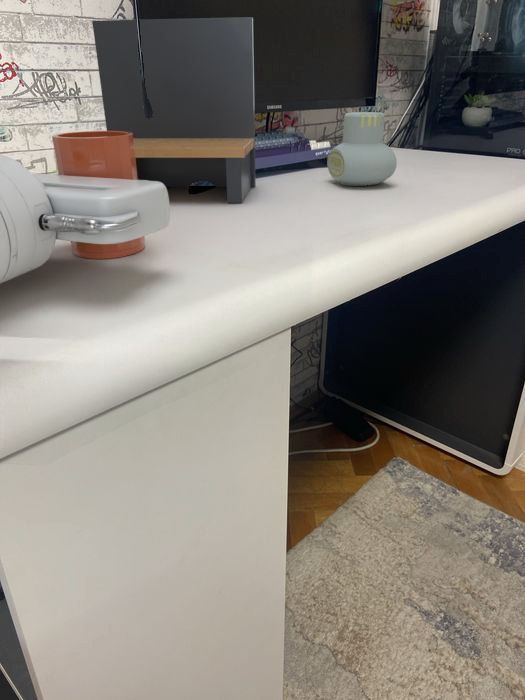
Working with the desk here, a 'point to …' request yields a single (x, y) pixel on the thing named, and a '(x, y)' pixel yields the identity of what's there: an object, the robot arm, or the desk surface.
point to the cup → (98, 175)
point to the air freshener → (362, 151)
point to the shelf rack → (183, 98)
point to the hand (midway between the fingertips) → (105, 186)
